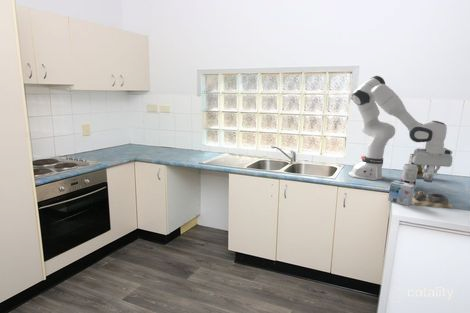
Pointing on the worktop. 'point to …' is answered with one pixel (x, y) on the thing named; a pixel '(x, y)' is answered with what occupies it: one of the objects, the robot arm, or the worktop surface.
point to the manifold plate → (431, 200)
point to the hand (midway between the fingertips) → (429, 172)
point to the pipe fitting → (429, 173)
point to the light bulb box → (401, 192)
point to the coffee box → (419, 173)
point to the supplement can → (409, 174)
